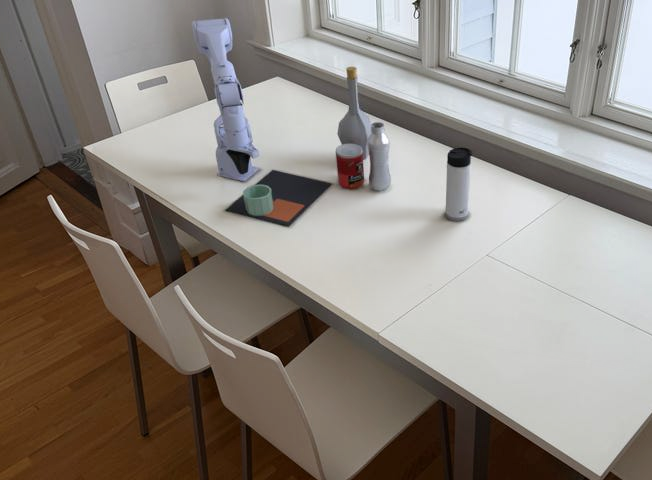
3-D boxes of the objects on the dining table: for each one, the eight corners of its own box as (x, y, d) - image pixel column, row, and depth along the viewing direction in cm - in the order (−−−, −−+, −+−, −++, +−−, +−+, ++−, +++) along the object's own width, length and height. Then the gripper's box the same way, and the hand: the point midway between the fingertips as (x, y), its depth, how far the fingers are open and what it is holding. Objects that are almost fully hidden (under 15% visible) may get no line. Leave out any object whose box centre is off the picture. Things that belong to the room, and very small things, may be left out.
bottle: (334, 157, 209) (326, 64, 191) (368, 150, 213) (363, 59, 195) (345, 173, 201) (338, 78, 183) (380, 167, 205) (376, 73, 187)
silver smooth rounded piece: (393, 182, 198) (391, 120, 186) (389, 194, 193) (387, 131, 180) (371, 180, 198) (368, 118, 186) (367, 192, 193) (363, 129, 181)
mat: (225, 210, 184) (225, 209, 183) (272, 170, 201) (272, 169, 201) (288, 226, 178) (288, 225, 178) (331, 184, 196) (331, 183, 196)
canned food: (352, 192, 193) (349, 159, 186) (332, 183, 197) (329, 150, 190) (370, 182, 198) (368, 149, 191) (350, 173, 201) (348, 140, 195)
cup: (241, 212, 182) (237, 195, 179) (256, 199, 188) (253, 182, 185) (264, 218, 181) (261, 201, 177) (279, 204, 186) (276, 187, 183)
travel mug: (466, 222, 182) (470, 157, 170) (443, 219, 183) (445, 154, 171) (470, 210, 187) (474, 146, 175) (448, 207, 188) (450, 143, 176)
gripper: (265, 130, 174) (272, 175, 183) (230, 114, 181) (238, 158, 190) (243, 140, 170) (251, 185, 178) (208, 123, 177) (218, 168, 185)
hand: (243, 172), depth 184 cm, fingers closed
